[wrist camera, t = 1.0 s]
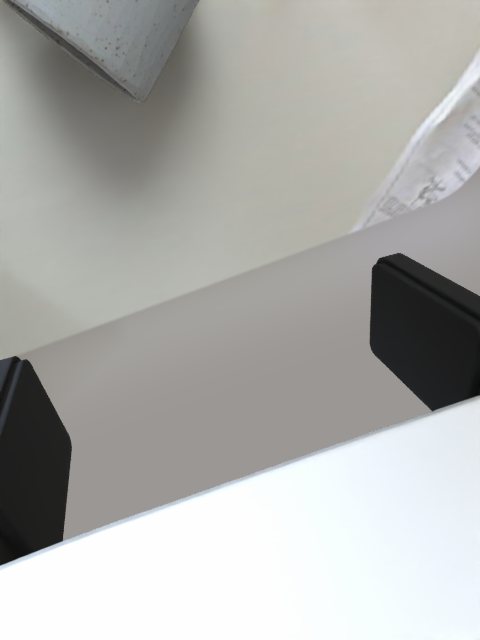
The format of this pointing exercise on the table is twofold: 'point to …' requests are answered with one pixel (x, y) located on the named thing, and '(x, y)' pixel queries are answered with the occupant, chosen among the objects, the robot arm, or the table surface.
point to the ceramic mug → (112, 36)
